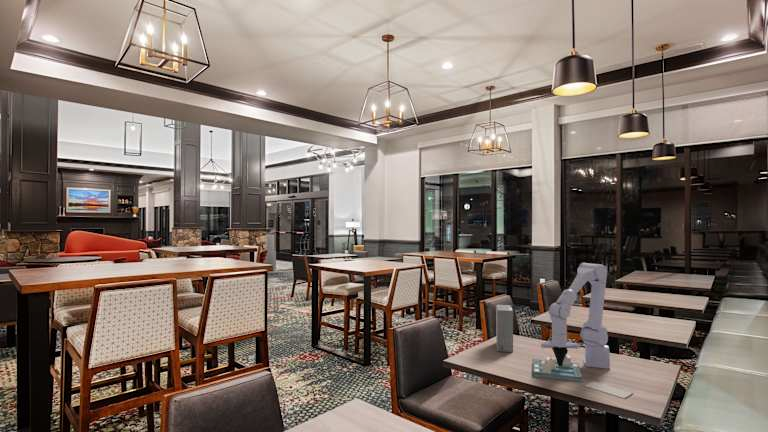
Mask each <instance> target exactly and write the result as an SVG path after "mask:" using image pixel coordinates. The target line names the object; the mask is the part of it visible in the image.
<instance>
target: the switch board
mask: <svg viewBox="0 0 768 432" xmlns="http://www.w3.org/2000/svg"><path fill="white" fill-rule="evenodd" d="M545 360H546V359H544V360H543V359H536V358H535V359H534V358H533V363H532V364H533V365H532V366H533V367H532V368H533V373H532V375H533V377H534V378H535V377H536V378H546V379H553V380H562V381H563V380H565V381H573V382H579V383H580V382H582V383H583V380H584V379H583V374H582V372H581V368H580V366H579V365H580V364H579V363H578V362H571V367H569V366H558V364H557V360H556V369H551V374H550V373H542V361H545Z"/></svg>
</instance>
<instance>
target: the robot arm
mask: <svg viewBox="0 0 768 432" xmlns="http://www.w3.org/2000/svg"><path fill="white" fill-rule="evenodd" d="M576 270H577V274H576V276H575V277H574V279H573V281H572V283H571V284H570V286H569V288H567V289H564V290H563V291H562V293H561V294H560V295H559V297H558V299H557V300H556V302H553V303H551V305H550V306H549V308H548V310H547V311H548V314H549V316H550V321H551V339H552V340H551V341H543V342H542V341H541V342H540V347H541V348H542V349H545V348H547V349H551V350H552V351H553V354H554V356H555V359H556V361H557V364H558V366H562V365H563V361H564V358H565V356H566V354H567V355H568V352H569V349H576V350H579V347H580V346H579V343H577V342H571V341H570V342H568V325H567V323H568V322H567V321H568V317H570V315H571V310H572V307H573V305H574V303H575V301H576V300H577V299H578V293H579V291H580V290H581V289H582V288H583V286H584V285H585V284H586V283H587V282H589V284H590V285H591V288H590V289H591V290H590V300H589V306H588V307H589V308H588V309H589V310H588V316H587V317H588V319H587V320H586V321H585V322H583V324H582V327H581V329H580V330H581V331H580V338H581V340H582V341H583V343H584V352H585V353H584V359H583V364H584V367H590V368H598V369H599V368H600V369H611V365H610V363H611V360H610V359H611V358H610V347H609V345H607V343H608V341H609V336H608V335H609V334H608V328H607V327H606V326H605V324H603V315H604V306H605V305H604V303H605V296H606V284H607V279H608V278H607V277H608V269H607V268H606V267H605V265H604V264H599V263H589V262H588V263H587V262H581V263H580V264H579V266H578V268H577V269H576Z"/></svg>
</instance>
